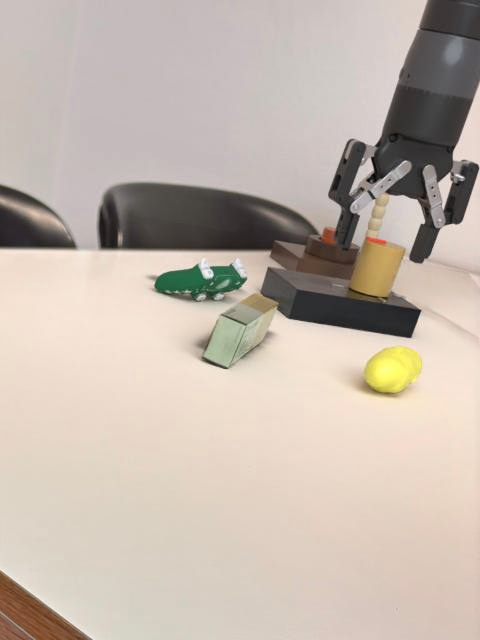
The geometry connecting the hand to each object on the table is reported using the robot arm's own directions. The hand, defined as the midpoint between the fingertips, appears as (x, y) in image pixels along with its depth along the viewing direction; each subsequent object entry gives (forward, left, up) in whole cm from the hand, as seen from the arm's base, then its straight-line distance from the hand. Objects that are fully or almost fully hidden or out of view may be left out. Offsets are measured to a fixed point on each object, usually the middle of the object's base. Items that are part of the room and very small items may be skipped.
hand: (378, 255), depth 114 cm
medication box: (+21, +23, -7) cm, 32 cm away
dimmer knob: (0, 0, -4) cm, 4 cm away
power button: (-5, -23, -3) cm, 24 cm away
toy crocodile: (+19, +3, -7) cm, 20 cm away
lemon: (+9, +27, -7) cm, 29 cm away
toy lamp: (-14, -33, -7) cm, 37 cm away
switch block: (-5, -23, -7) cm, 25 cm away
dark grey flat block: (+3, +1, -7) cm, 7 cm away
